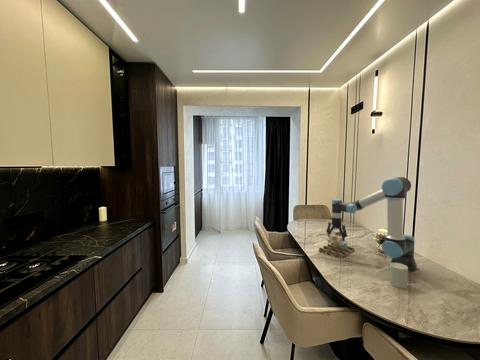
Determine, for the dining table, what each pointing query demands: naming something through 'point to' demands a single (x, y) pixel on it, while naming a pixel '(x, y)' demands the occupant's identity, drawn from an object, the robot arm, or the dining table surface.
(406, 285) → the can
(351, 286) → the dining table surface
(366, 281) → the dining table surface
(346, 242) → the teal bar
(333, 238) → the maple bar
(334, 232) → the sugar bowl
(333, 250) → the slot rack
